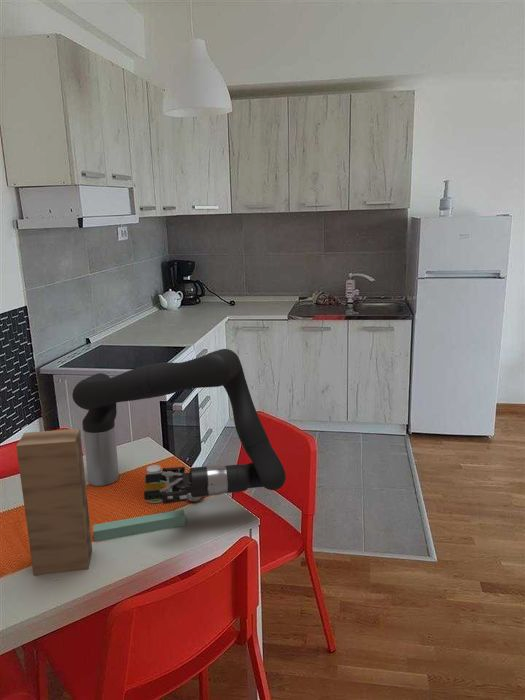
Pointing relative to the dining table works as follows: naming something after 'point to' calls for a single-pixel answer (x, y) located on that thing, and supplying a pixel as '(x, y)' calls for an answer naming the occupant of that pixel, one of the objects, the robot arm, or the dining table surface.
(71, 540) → the stand
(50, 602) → the dining table surface
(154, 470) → the supplement bottle
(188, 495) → the grey rounded piece
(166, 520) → the rod
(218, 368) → the robot arm
